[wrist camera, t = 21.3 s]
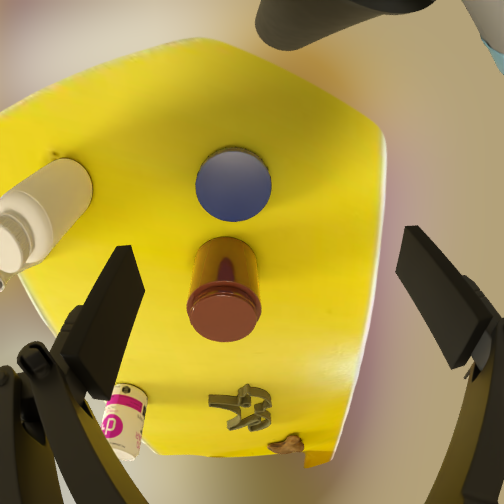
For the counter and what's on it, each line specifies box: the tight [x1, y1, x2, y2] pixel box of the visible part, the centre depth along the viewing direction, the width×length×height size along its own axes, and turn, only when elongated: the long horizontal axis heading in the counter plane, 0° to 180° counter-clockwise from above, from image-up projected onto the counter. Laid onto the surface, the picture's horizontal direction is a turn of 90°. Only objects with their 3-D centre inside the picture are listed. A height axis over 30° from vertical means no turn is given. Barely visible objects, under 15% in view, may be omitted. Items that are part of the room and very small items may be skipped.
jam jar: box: [187, 237, 261, 342], centre depth 36 cm, size 8×8×10 cm
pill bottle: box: [0, 159, 92, 273], centre depth 27 cm, size 8×8×15 cm
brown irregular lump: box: [267, 435, 304, 454], centre depth 70 cm, size 10×10×4 cm
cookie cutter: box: [208, 384, 272, 432], centre depth 59 cm, size 18×12×2 cm, turn 14°
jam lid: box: [195, 147, 271, 222], centre depth 33 cm, size 8×8×2 cm
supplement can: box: [101, 384, 148, 461], centre depth 50 cm, size 8×8×15 cm
